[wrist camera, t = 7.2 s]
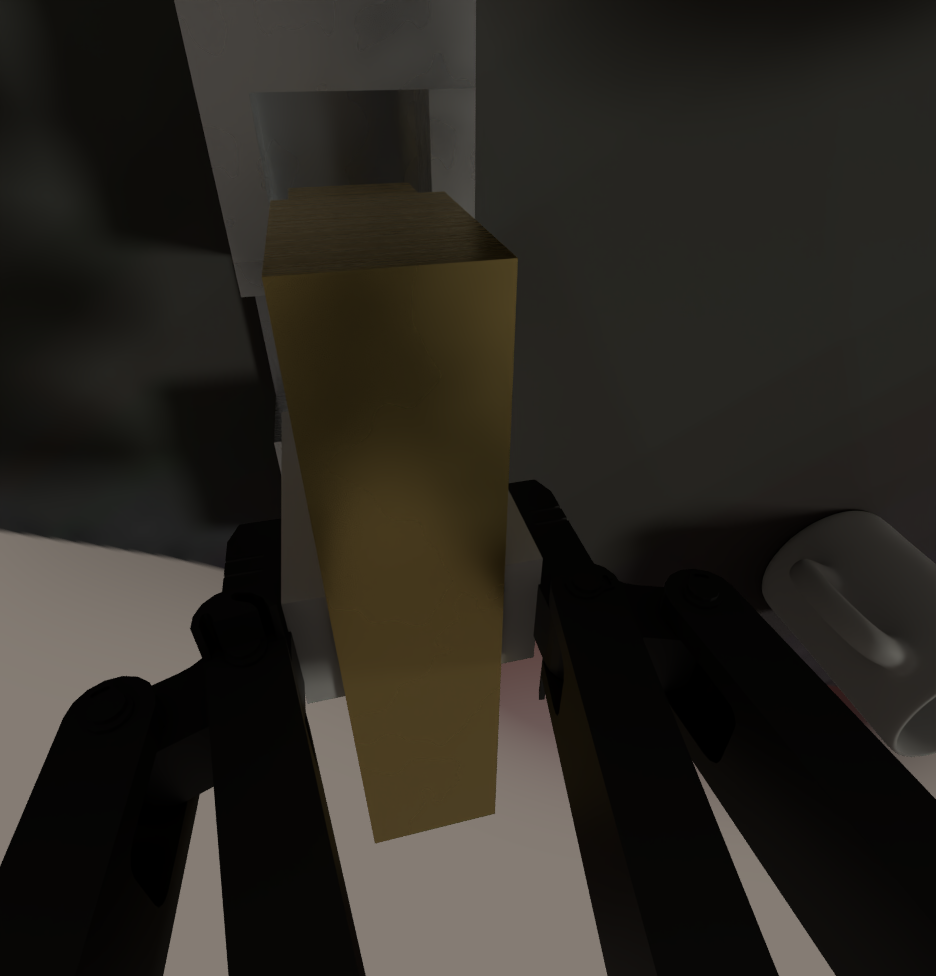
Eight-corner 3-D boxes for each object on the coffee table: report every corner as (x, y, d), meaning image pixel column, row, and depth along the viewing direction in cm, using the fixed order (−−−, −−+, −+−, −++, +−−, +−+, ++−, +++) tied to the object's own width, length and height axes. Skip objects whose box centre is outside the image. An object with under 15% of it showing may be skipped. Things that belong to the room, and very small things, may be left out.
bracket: (193, -4, 17) (171, -13, 14) (443, -2, 18) (475, -10, 15) (305, 525, 28) (306, 587, 25) (453, 504, 29) (473, 560, 26)
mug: (907, 533, 39) (1078, 672, 31) (806, 620, 43) (935, 767, 34) (806, 468, 34) (983, 617, 25) (699, 574, 37) (823, 737, 28)
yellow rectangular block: (273, 175, 12) (262, 277, 7) (419, 168, 13) (518, 258, 7) (351, 627, 20) (374, 843, 15) (439, 610, 21) (494, 813, 15)
